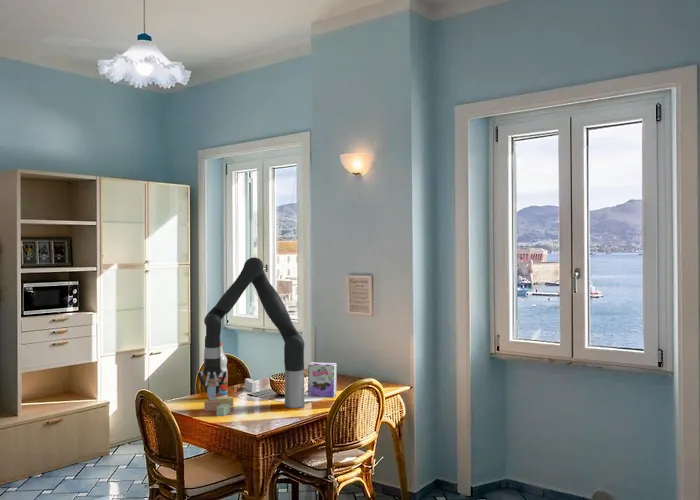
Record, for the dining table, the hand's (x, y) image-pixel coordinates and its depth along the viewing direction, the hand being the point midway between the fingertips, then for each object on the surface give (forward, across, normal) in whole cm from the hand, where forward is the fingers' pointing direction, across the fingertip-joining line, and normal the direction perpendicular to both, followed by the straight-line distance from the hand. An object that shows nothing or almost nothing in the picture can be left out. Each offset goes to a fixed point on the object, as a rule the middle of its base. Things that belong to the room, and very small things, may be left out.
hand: (212, 393), depth 287 cm
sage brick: (+8, -6, +8) cm, 12 cm away
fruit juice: (+8, 0, -20) cm, 21 cm away
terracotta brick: (+8, 0, 0) cm, 8 cm away
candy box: (+7, -52, -24) cm, 58 cm away
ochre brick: (+8, -5, -6) cm, 11 cm away
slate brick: (+1, 0, +1) cm, 1 cm away
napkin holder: (+8, -15, -40) cm, 44 cm away
